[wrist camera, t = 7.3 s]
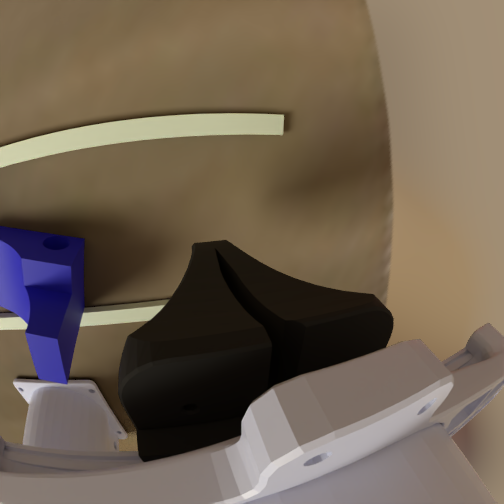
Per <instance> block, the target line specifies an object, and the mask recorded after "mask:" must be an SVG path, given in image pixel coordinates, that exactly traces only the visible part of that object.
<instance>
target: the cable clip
mask: <svg viewBox="0 0 504 504" xmlns="http://www.w3.org/2000/svg"><path fill="white" fill-rule="evenodd" d="M84 240H85V239H83V238H76V237H69V236H63V235H56V234H49V233H43V232H36V231H29V230H23V229H16V228H10V227H4V226H0V306H1V307H4V308H6V309H8V310H10V311H12V312H14V313H15V314H17V315H18V316H19V317H21V318H22V319H23V320H24V321H25V322H26V323H27V324H28V326H27V329H26V332H25V334H26V338H27V342H28V345H29V349H30V352H31V356H32V359H33V362H34V366H35V369H36V372H37V375H38V378H39V379H41V380H46V381H51V382H56V383H61V384H66V385H68V379H69V373H70V368H71V363H72V358H73V353H74V348H75V344H76V339H77V335H78V331H79V327H80V323H81V319H82V315H83V311H84V308H85V304H84Z"/></svg>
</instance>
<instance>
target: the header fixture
mask: <svg viewBox="0 0 504 504" xmlns="http://www.w3.org/2000/svg"><path fill="white" fill-rule="evenodd" d="M283 126H284V115H279V114H253V113H211V114H186V115H170V116H158V117H147V118H138V119H129V120H121V121H114V122H107V123H101V124H95V125H89V126H84V127H78V128H73V129H68V130H64V131H59V132H55V133H50V134H46V135H42V136H38V137H34V138H30V139H27V140H23V141H19V142H16V143H13V144H9V145H6V146H3V147H0V168H1V167H4V166H8V165H11V164H15V163H19V162H23V161H27V160H31V159H35V158H39V157H43V156H48V155H52V154H57V153H62V152H67V151H72V150H77V149H83V148H89V147H95V146H101V145H108V144H115V143H122V142H130V141H139V140H148V139H158V138H170V137H184V136H202V135H235V134H263V135H283ZM169 300H170V299H168V300H159V301H150V302H140V303H130V304H120V305H110V306H99V307H87V308H84V311H83V315H82V319H81V323H80V326H93V325H106V324H117V323H128V322H139V321H148V320H151V319H152V318H153V317H154V316H155V315H156V314H157V313H158V312H159V311H160V310H161V309H162V308H163V307H164V306H165V305H166V303H167V302H168V301H169ZM27 326H28V324H27V323H26V322H25V321H24V320H23V319H22V318H21V317H19V316H18V315H17V314H15V313H0V330H12V329H27Z"/></svg>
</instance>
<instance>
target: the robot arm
mask: <svg viewBox="0 0 504 504" xmlns="http://www.w3.org/2000/svg"><path fill="white" fill-rule="evenodd" d="M392 330H393V316H392V314H391V312H390V311H389V310H388V309H387V308H386V307H385V306H384V305H383V304H382V303H381V302H380V301H379V300H378V299H377V297H376V296H375V295H373V294H366V293H357V292H348V291H341V290H336V289H331V288H326V287H322V286H318V285H314V284H311V283H308V282H304V281H301V280H298V279H295V278H293V277H290V276H288V275H285V274H283V273H281V272H278V271H276V270H274V269H272V268H270V267H268V266H267V265H265V264H263V263H261V262H259V261H258V260H256V259H254V258H253V257H251V256H249V255H248V254H246V253H245V252H243V251H242V250H240V249H239V248H237V247H236V246H234V245H233V244H231V243H230V242H228V241H227V240H221V241H211V242H202V243H194V244H193V246H192V255H191V259H190V262H189V265H188V268H187V270H186V273H185V275H184V277H183V279H182V281H181V283H180V285H179V286H178V288H177V290H176V291H175V293H174V294H173V296H172V297H171V298H170V300H169V301H168V302H167V303H166V305H165V306H164V307H163V308H162V309H161V310H160V311H159V312H158V313H157V314H156V315H155V316H154V317H153V318H152V319H151V320H150V321H148V322H147V323H146V324H144V325H143V326H142V327H140V328H139V329H137V330H136V331H135V332H133V333H132V334H130V335H129V336H128V337H127V340H126V343H125V346H124V350H123V353H122V358H121V362H120V367H119V382H118V395H119V398H120V401H121V404H122V405H123V407H124V409H125V411H126V412H127V414H128V416H129V418H130V419H131V421H132V423H133V424H134V426H135V428H136V431H137V444H138V451H119V441H118V439H126V438H127V437H128V436H127V433H126V431H125V430H124V428H123V427H122V426H121V424H120V423H119V421H118V420H117V418H116V416H115V415H114V413H113V412H112V410H111V409H110V407H109V405H108V404H107V402H106V400H105V399H104V397H103V395H102V394H101V392H100V390H99V389H98V387H97V385H96V383H95V382H93V381H92V380H68V385H66V384H61V383H56V382H51V381H46V380H34V379H14V382H13V384H14V386H15V387H16V388H17V390H18V391H19V392H20V393H21V395H22V396H23V397H24V399H25V400H26V401H27V402H28V403H29V408H28V414H27V419H26V425H25V431H24V438H23V445H22V444H16V443H11V442H6V441H4V439H3V438H2V437H1V436H0V504H497V502H496V501H495V499H494V498H493V496H492V495H491V493H490V492H489V490H488V489H487V487H486V486H485V484H484V483H483V481H482V480H481V479H480V477H479V476H478V474H477V473H476V471H475V470H474V469H473V467H472V466H471V464H470V463H469V462H468V460H467V459H466V457H465V456H464V455H463V453H462V452H461V450H460V449H459V448H458V446H457V445H456V443H455V442H454V441H453V439H452V438H451V436H452V435H454V434H455V433H456V432H457V431H458V430H460V429H461V428H462V427H463V426H464V425H465V424H467V423H468V422H469V421H470V420H471V419H472V418H473V417H474V416H475V415H476V414H478V413H479V412H480V411H481V410H482V409H483V408H484V407H485V406H486V405H487V404H488V403H489V402H490V401H491V400H492V399H493V398H494V397H495V396H496V395H497V394H498V392H499V391H500V390H501V389H502V388H503V386H504V336H503V335H501V334H500V333H499V332H498V331H497V330H496V329H495V328H494V327H493V326H492V325H491V324H490V323H487V324H485V325H484V326H482V327H480V328H479V329H478V330H476V331H475V332H474V333H473V334H472V336H471V337H470V339H469V340H468V342H467V344H466V347H465V348H464V349H462V350H460V351H459V352H457V353H456V354H454V355H452V356H451V357H449V358H447V359H446V360H444V361H442V362H441V361H440V360H439V359H438V358H437V357H436V356H435V355H434V354H433V352H432V351H431V350H430V349H429V348H428V347H427V346H426V345H425V344H424V343H423V342H422V341H421V340H420V339H416V340H409V341H402V342H399V343H397V344H394V345H391V346H389V347H386V346H387V344H388V341H389V339H390V336H391V333H392Z"/></svg>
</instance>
